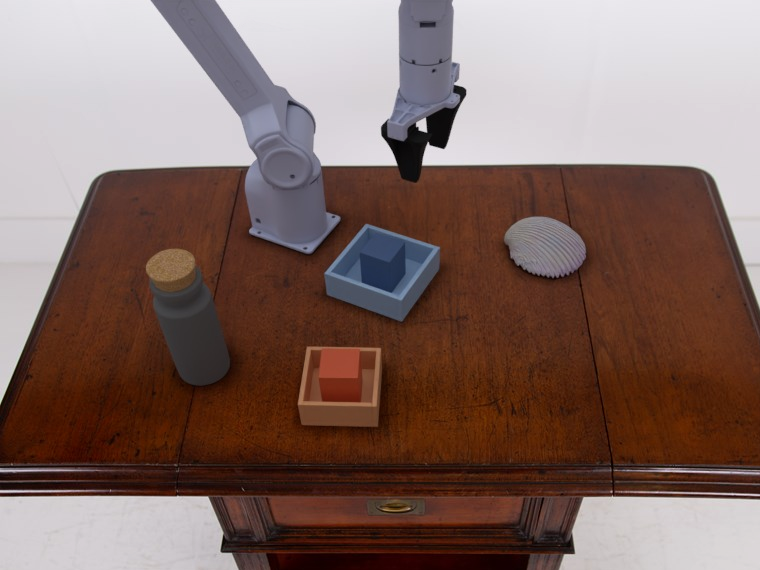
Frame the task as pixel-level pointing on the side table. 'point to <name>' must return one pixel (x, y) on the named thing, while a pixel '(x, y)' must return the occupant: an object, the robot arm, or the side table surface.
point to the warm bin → (341, 412)
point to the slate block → (383, 262)
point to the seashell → (545, 246)
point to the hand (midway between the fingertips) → (424, 162)
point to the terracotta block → (340, 375)
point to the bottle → (187, 317)
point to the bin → (396, 305)
